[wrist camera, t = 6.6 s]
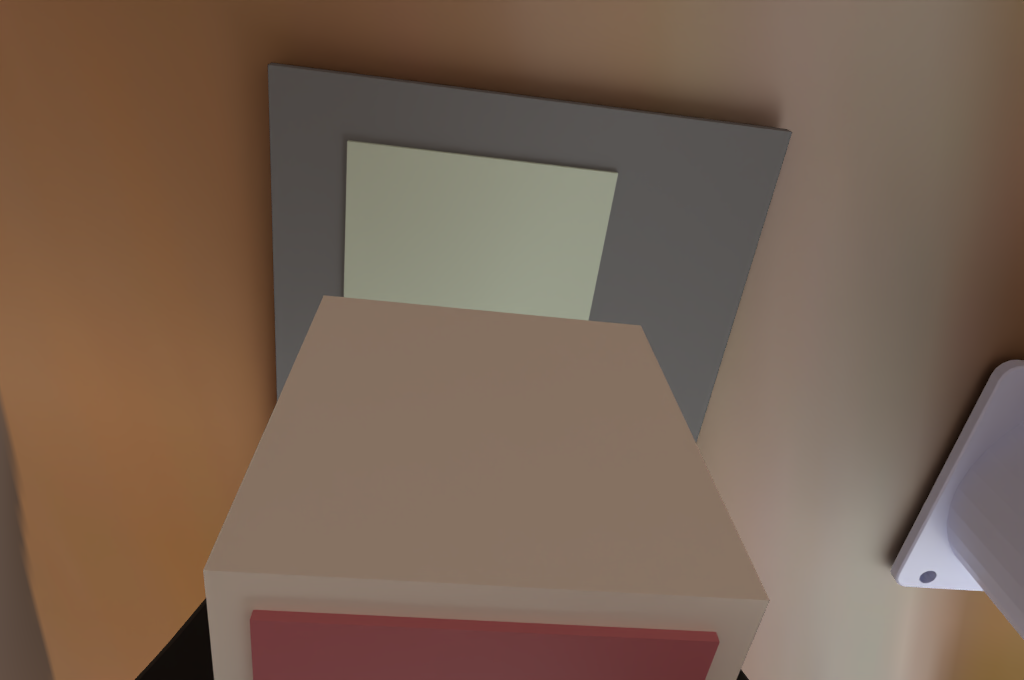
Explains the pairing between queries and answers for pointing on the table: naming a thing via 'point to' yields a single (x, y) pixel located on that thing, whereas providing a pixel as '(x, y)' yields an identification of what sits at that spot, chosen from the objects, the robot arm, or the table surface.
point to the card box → (477, 511)
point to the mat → (515, 211)
